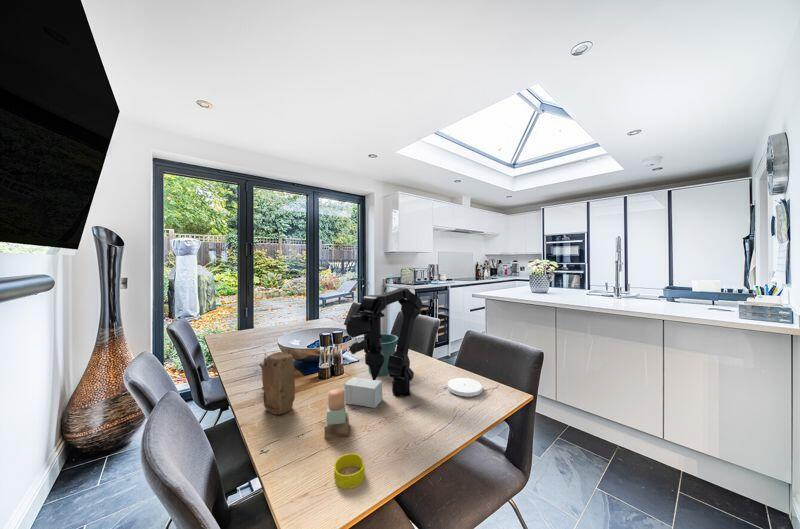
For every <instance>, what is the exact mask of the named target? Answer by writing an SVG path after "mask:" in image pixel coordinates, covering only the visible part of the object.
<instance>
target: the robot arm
mask: <svg viewBox="0 0 800 529" xmlns="http://www.w3.org/2000/svg"><path fill="white" fill-rule="evenodd" d="M396 302H398V304H399V305H400V306H401V307H400V311H401V314H402V321H401V324H400V329H399V336H398V340H397V344H396V348H395V353H394V354H393V355H390V356H389V361H388V364H387V365H388V372H389V378H392V379H393V380H392V381H391V390H392V394H393V396H394V397H397V398H398V397H409V396H411V395H412V394H411V386H410V385H411V384H410V383H411V382H412V381H413V380H412V379H414V374H415V372H414V371H413V370H412V369H411V368H410V366H411V361H410V357H409V355H408V354H409V350H410V343H411V339H412V334H413V329H414V324H415V319H416V318H417V317H418V316H419V315H420V314H421V310H422V308H423V301H422V300H421V298H420V297H419V296H418V295H416V294H415V293H413V292H412V291H410V289H409V288H408V287H407V288H406V287H398V288H396V289H393V290H391V291H388V292H384V293H381V294H367V295H365V296H363V297H362V300H361V302H360V304H359V307H358V308H357V311H356V312H355V315H351V316H350V319H349V320H348V321H347V323H346V326H345V330H346V333H347V335H348V336H349V337H350V338H356V337H359V338H357V339H354V340H353V341H352V340H351V341H350V342H349V343H348V349H349V351H350V354H351V355H355V354H357V353H359V352H361V351H363V352H364V353H365V354H364V363H365V365H366V366H367V367H368V366H369V367H370V370H371V373H370V375H371V378H372V379H371V380H377V378H378V377H379V375H378V374H379V371H380V369H381V367H382V365H383V363H384V354H383V353H382V352H381V351H380V350H382V346H381V338H382V335H381V334H382V332H381V331H382V318H383V317H385V314H384V313H383V311H384V310H386V308H387V306H390V305H392V304H393V303H396ZM360 336H362V337H360Z"/></svg>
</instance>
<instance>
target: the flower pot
mask: <svg viewBox="0 0 800 529" xmlns="http://www.w3.org/2000/svg"><path fill="white" fill-rule="evenodd" d="M381 335H382V338H381V346H382V350H380V351H381V352H382V353H383V354H384V363H383V365H382V367H381V369H380V371H379V374H378V376H380V377H381V376H382V377H384V376H388V374H389V372H388V365H387V364H388V361H389V356H390V355H393V354H394V353H395V352H396V348H397V343H398V338H399V336H397V335H394V334H390V333H381ZM367 367H368V368H367V369H368V372H369V374H371V370H370V367H369V366H368V365H367Z"/></svg>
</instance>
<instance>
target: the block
mask: <svg viewBox="0 0 800 529" xmlns="http://www.w3.org/2000/svg"><path fill="white" fill-rule="evenodd" d="M265 358H266V359H265ZM265 358H264V359H265V361H264V360H263V361H264V363H263V368H261V374H262V376H261V378H262V387H263V389H262V390H263V406H264V408H265V409H266V410H267V411H268V412H269V413H271V414H272V415H277V416H278V415H283V414H287V413H288V412H291V409H292V408H293V405H294V401H295V399H296V396H295V395H296V383H295V382H296V381H295V363H294V356H293V355H292V354H290V353H287V352H282V351H278V352H274V353H271V354H270V355H267V356H266V357H265Z"/></svg>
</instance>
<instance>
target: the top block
mask: <svg viewBox="0 0 800 529" xmlns="http://www.w3.org/2000/svg"><path fill="white" fill-rule="evenodd" d="M326 407H327V408H326V416H327V425H332V424H341V423H345V413H346V405H345V406H344V408H342V409H340V410H330V409H329V408H328V406H326Z"/></svg>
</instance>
